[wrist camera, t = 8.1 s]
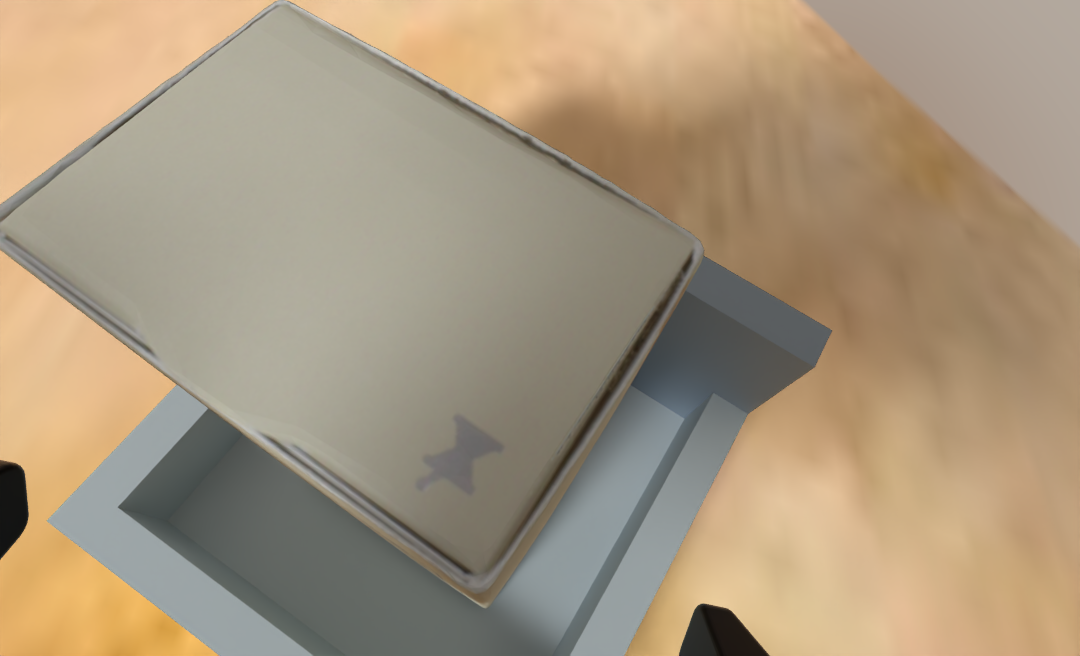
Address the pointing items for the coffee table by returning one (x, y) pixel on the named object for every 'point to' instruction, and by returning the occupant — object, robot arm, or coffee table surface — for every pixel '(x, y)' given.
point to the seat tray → (394, 578)
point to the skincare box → (365, 282)
